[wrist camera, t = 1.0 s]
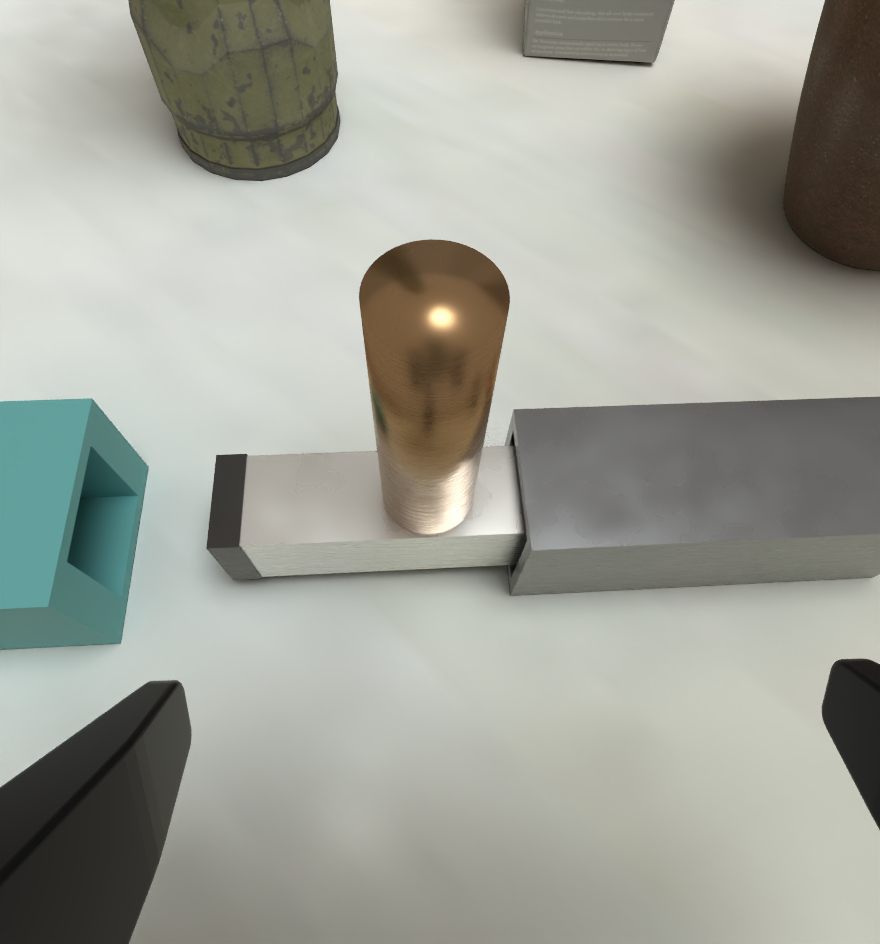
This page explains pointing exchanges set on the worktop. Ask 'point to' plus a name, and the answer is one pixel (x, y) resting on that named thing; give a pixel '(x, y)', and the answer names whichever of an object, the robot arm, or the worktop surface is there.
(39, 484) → the socket
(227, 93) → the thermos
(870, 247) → the plant pot
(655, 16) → the skincare box
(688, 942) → the worktop surface
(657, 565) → the grey rectangular metal block
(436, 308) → the bronze post on bar
